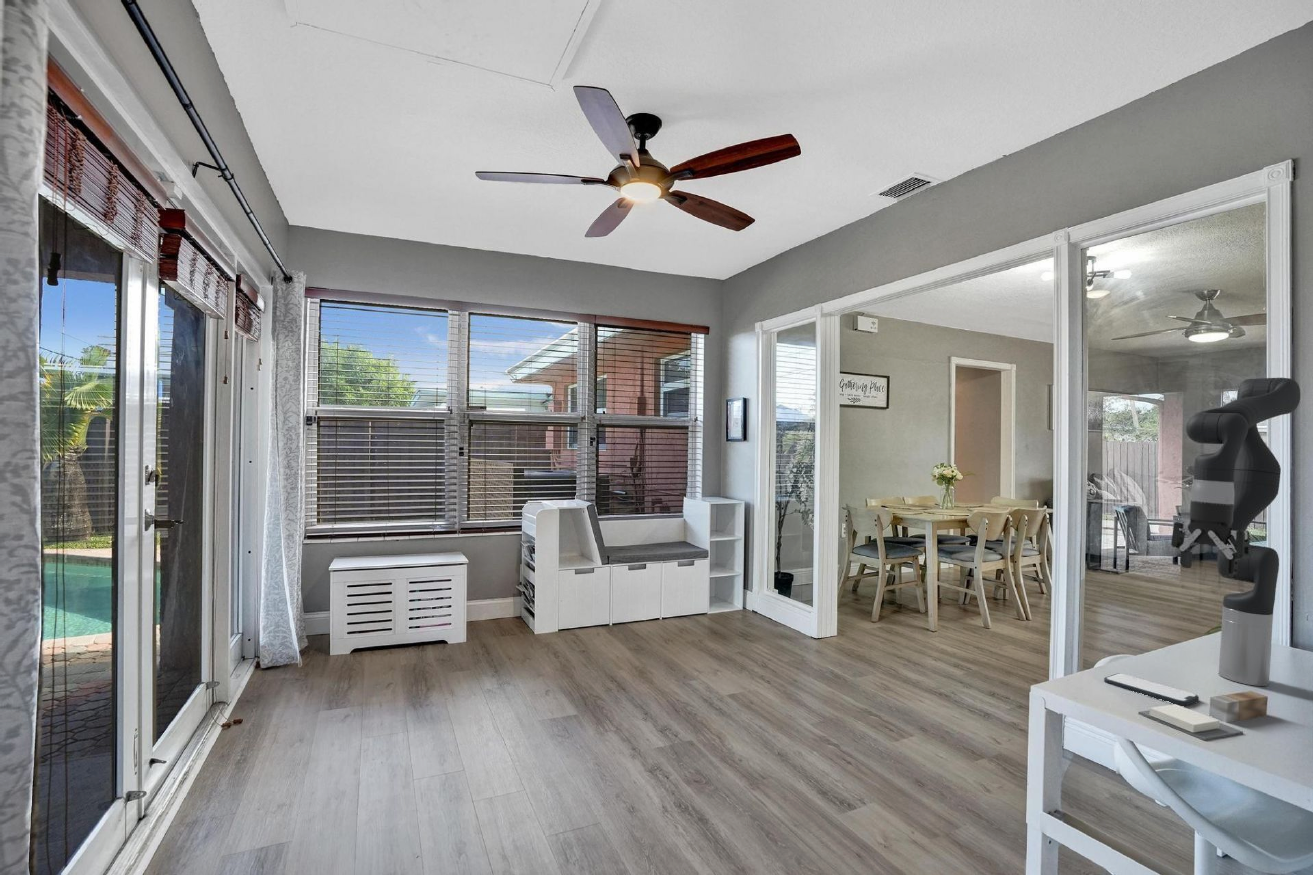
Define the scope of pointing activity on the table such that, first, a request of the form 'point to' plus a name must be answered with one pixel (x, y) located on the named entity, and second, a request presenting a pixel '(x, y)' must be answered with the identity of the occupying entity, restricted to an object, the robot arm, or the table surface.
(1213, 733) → the mat
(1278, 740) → the table surface
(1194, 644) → the table surface
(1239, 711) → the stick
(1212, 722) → the tile
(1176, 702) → the phone case
